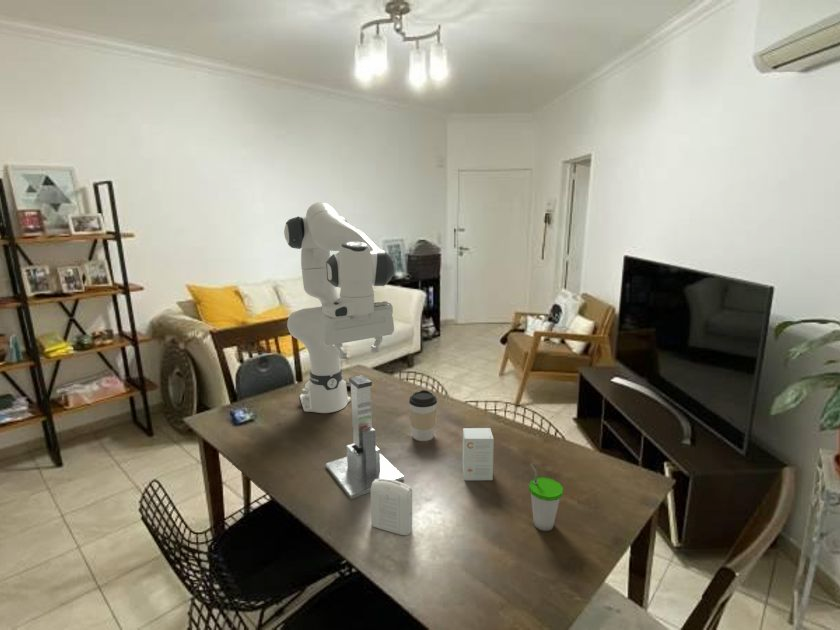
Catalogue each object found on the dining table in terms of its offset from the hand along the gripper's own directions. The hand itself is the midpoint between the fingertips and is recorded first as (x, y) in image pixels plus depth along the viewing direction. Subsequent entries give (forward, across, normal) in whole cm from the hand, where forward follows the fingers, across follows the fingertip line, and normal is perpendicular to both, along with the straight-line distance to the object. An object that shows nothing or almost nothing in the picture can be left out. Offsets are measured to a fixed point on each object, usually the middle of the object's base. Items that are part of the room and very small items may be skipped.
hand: (359, 355), depth 121 cm
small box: (+36, -27, +18) cm, 48 cm away
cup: (+36, -27, +43) cm, 62 cm away
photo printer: (+36, +4, +24) cm, 43 cm away
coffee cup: (+36, -26, -9) cm, 45 cm away
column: (+26, 0, 0) cm, 26 cm away
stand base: (+36, 0, 0) cm, 36 cm away
